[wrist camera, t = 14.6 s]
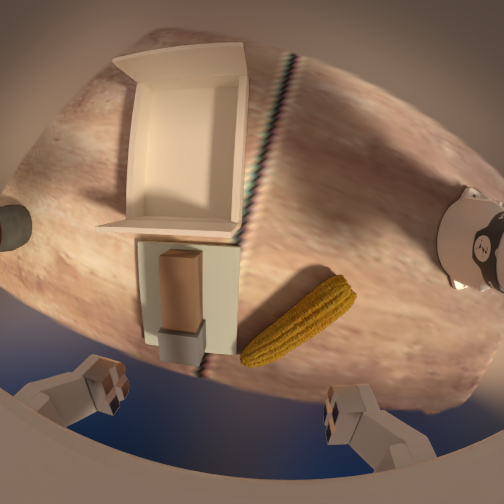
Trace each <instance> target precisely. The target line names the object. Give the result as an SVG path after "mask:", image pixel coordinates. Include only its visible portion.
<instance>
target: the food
mask: <svg viewBox="0 0 504 504" xmlns="http://www.w3.org/2000/svg"><path fill="white" fill-rule="evenodd" d="M356 297H357V294H356V293H355V292H353V290H352V289H351V286H350V285H349V284H347V280H346V279H345V278H344V276H343V275H336V276H333V277H331V278H329V279H327V280H326V281H324V282H322V283H321V284H320V285H319V286H317V287H316V288H315V289H314V290H313V291H312V292H310V293H309V294H308V295H307V296H306V297H304V298H303V299H302V300H301V301H300V302H299V303H297V305H295V306H294V307H292V308H291V309H290V310H289V311H288V312H286V313H285V314H284V315H283V316H282V317H281V318H279V319H278V320H277V321H276V322H275V323H274V324H272V325H271V326H269V327H268V328H267V329H266V330H264V331H263V332H262V333H261V334H259V335H258V336H257V337H255V338H254V339H253V340H252V341H251V342H250V343H249V344H248V345H247V347H246V348H245V349H244V350H243V352H242V354H241V356H240V360H241V362H240V363H241V364H243V365H244V366H247V367H251V368H253V367H260V366H263V365H266V364H269V363H271V362H273V361H275V360H277V359H278V358H281V356H284V355H285V354H286V353H288V352H289V351H292V350H293V349H294V348H296V347H298V346H299V345H301V344H302V343H304V342H306V341H307V340H308V339H310V338H312V337H314V335H316V334H317V333H319V332H320V331H322V330H324V329H325V328H326V327H328V326H329V325H330V324H331V323H332V322H334V321H336V320H337V319H338V318H339V317H340V316H342V315H343V314H344V313H345V312H346V311H347V310H349V308H350V307H351V306H352V305H353V303H354V301H355V299H356Z"/></svg>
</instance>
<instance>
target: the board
mask: <svg viewBox="0 0 504 504" xmlns="http://www.w3.org/2000/svg"><path fill="white" fill-rule="evenodd" d="M169 249H182V250H198V251H203V319H205V320H206V349H205V352H208V353H217V354H228V355H236V352H237V326H238V299H239V274H240V251H241V246H231V245H213V244H196V243H178V242H159V241H138V266H139V283H140V297H141V308H142V318H143V327H144V335H145V343H146V344H151V345H157V346H159V344H158V335H157V332H158V331H159V329H160V328H161V327H162V315H161V300H160V282H159V255H161V254H163V253H164V252H166V251H168V250H169Z"/></svg>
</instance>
